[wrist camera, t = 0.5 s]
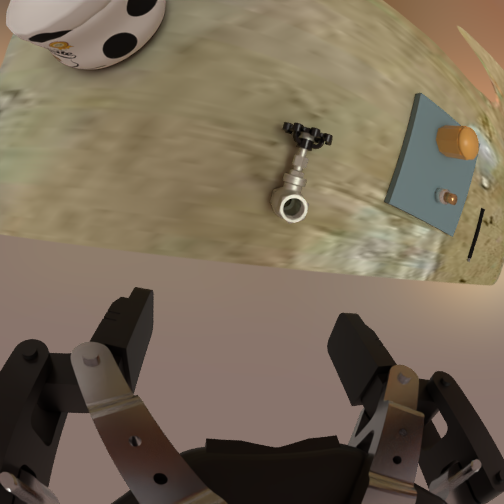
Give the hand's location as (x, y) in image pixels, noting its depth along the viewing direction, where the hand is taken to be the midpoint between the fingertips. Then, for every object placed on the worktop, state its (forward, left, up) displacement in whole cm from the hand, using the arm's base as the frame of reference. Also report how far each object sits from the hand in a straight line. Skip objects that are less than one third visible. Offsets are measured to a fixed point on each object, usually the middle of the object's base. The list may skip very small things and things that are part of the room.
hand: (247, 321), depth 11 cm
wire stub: (-13, +33, -26) cm, 44 cm away
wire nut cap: (-22, +31, -26) cm, 46 cm away
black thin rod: (-10, +51, -28) cm, 59 cm away
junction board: (-17, +32, -28) cm, 45 cm away
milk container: (-22, -25, -28) cm, 44 cm away
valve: (-6, +7, -28) cm, 29 cm away
